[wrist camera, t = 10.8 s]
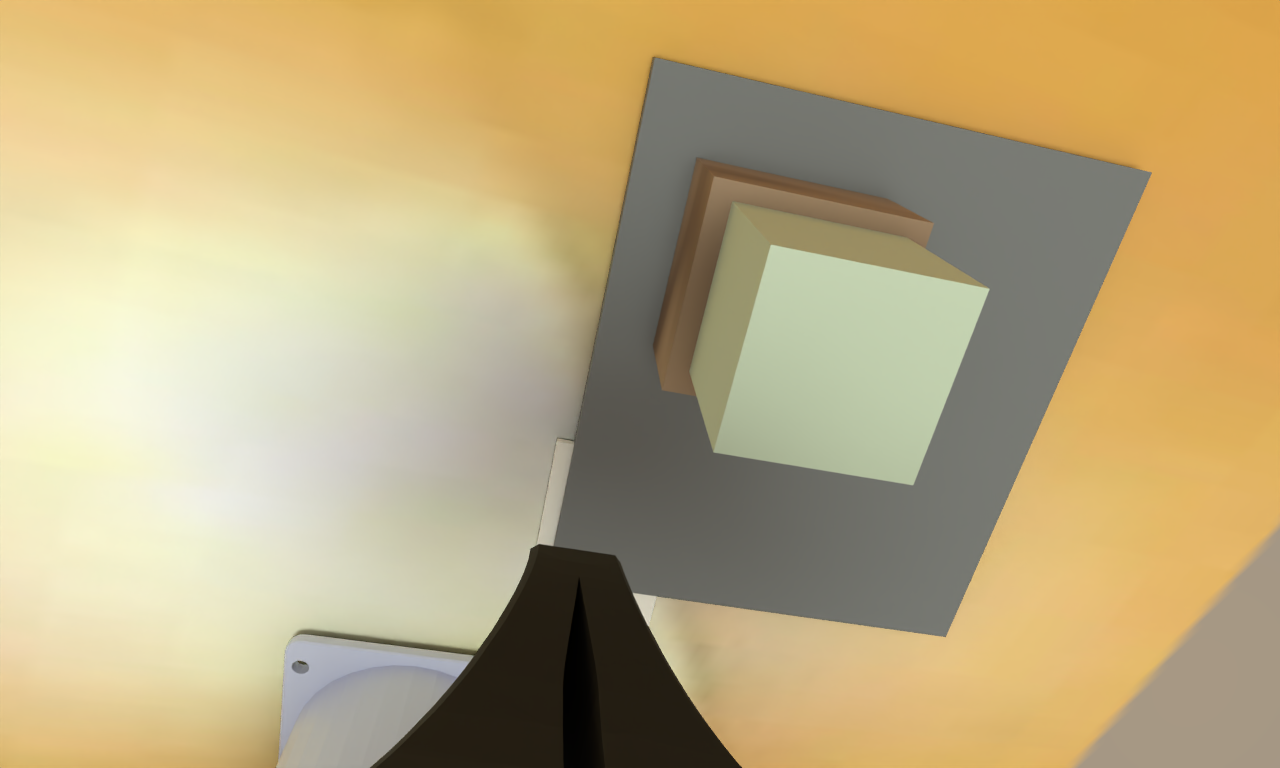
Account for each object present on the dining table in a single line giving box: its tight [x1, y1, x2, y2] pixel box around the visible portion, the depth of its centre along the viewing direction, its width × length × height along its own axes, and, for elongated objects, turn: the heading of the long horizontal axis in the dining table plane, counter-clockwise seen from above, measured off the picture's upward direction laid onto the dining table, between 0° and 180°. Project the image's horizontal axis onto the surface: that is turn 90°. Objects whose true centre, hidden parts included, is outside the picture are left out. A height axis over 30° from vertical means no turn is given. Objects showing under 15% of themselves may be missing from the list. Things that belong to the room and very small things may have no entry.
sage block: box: [689, 201, 989, 485], centre depth 16 cm, size 4×4×4 cm
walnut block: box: [653, 158, 934, 396], centre depth 20 cm, size 5×5×3 cm
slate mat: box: [554, 57, 1152, 637], centre depth 23 cm, size 15×13×1 cm
